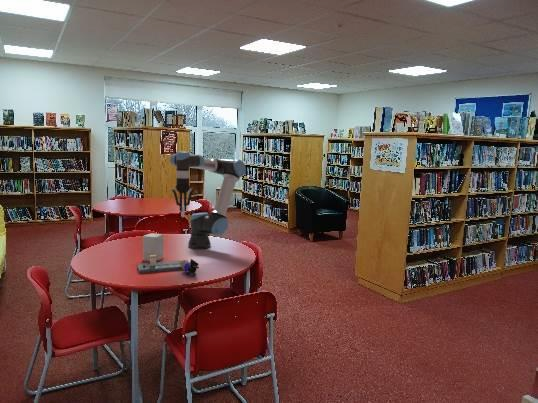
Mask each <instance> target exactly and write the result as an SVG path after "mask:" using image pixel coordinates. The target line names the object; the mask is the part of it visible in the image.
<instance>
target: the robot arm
mask: <svg viewBox="0 0 538 403" xmlns="http://www.w3.org/2000/svg"><path fill="white" fill-rule="evenodd" d="M170 155H171V156H170V157H169V161H170V162H169V163H170V164H171V165H172V166H175V167H176V186H175V188H173V189H171V192H172V193H173V195H174V199H175V200H174V201H175V203H176V205H177V206H179V212H180V213H181V215H180V217H181V218H185V214H186V212H187V206H189V205H190V203H191V200H192V195H193V193H194V191H195V190H194V188H192V187H191V186H190V168H191V169H199V170H203V171H204V170H205V171H208V172H209V173H214V174H217V175H221V176H222V177H223V180H222V183H221V186H220V189H219V193H218V195H217V198H216V201H215V204H214V207H213V210H212V211H210V213H209V212H197V213H193V214H191V217H190V237H189V240H188V243H187V245H188V246H187V247H188V248H189V249H194V250H195V249H196V250H203V249H209V248H211V245H212V244H211V241H210V237H209V234H210V235H214V236H222V235H223V234H225V232H227V230H228V228H229V221H228V219H227V218H228V217H227V211H228V208H229V205H230V202H231V199H232V195H233V192H234V189H235V186H236V183H237V182H239V180H240V178H242V177H243V176H245V173H246V165H245V162H243V160H241V159H238V158H213V157H211V158H210V159H209V158H204V156H203V155H201V154H190V152H189V151H177V152H176V153H173V154H170ZM177 193H179V198H178V194H177ZM187 194H188V195H187Z"/></svg>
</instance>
